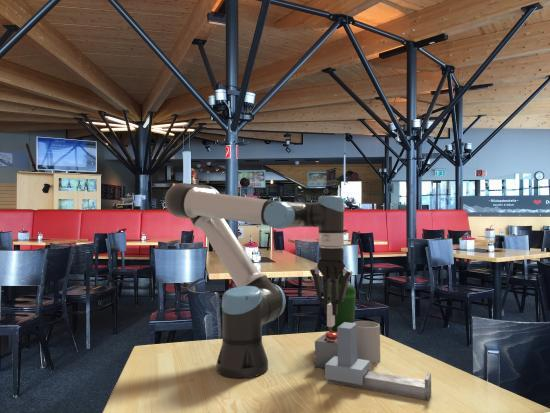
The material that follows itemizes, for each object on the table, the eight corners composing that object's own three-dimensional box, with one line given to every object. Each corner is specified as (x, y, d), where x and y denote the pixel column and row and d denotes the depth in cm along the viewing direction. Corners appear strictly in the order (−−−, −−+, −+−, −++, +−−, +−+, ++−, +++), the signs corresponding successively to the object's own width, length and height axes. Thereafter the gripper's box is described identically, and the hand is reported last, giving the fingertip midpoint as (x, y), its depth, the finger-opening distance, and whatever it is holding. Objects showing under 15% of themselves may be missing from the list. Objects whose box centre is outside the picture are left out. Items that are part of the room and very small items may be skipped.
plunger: (323, 364, 128) (323, 334, 128) (328, 360, 131) (328, 330, 131) (336, 366, 126) (336, 335, 126) (341, 362, 129) (340, 332, 130)
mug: (380, 364, 129) (380, 328, 129) (352, 363, 131) (351, 327, 131) (379, 352, 141) (379, 318, 141) (353, 350, 143) (352, 317, 143)
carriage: (325, 378, 115) (324, 326, 115) (335, 368, 122) (334, 320, 122) (361, 385, 110) (361, 331, 110) (370, 374, 117) (369, 323, 117)
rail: (327, 382, 116) (327, 363, 116) (333, 376, 120) (333, 358, 121) (428, 400, 104) (428, 379, 104) (431, 392, 108) (430, 373, 109)
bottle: (340, 337, 159) (339, 261, 159) (363, 343, 150) (362, 263, 151) (319, 342, 152) (319, 263, 152) (342, 349, 144) (341, 266, 144)
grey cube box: (315, 368, 127) (314, 340, 127) (324, 359, 134) (324, 334, 134) (341, 372, 123) (340, 344, 123) (349, 363, 130) (349, 337, 130)
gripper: (306, 247, 129) (306, 325, 129) (348, 248, 123) (348, 331, 123) (315, 245, 136) (315, 320, 135) (355, 247, 130) (355, 325, 129)
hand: (330, 325), depth 129 cm, fingers closed
